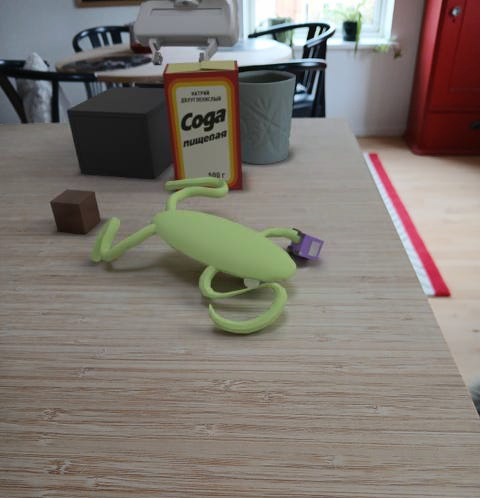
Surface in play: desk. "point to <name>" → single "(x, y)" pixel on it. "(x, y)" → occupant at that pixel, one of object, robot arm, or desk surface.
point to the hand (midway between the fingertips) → (179, 64)
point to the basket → (149, 85)
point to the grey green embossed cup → (265, 115)
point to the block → (75, 211)
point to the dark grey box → (122, 133)
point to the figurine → (218, 248)
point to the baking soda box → (204, 120)
